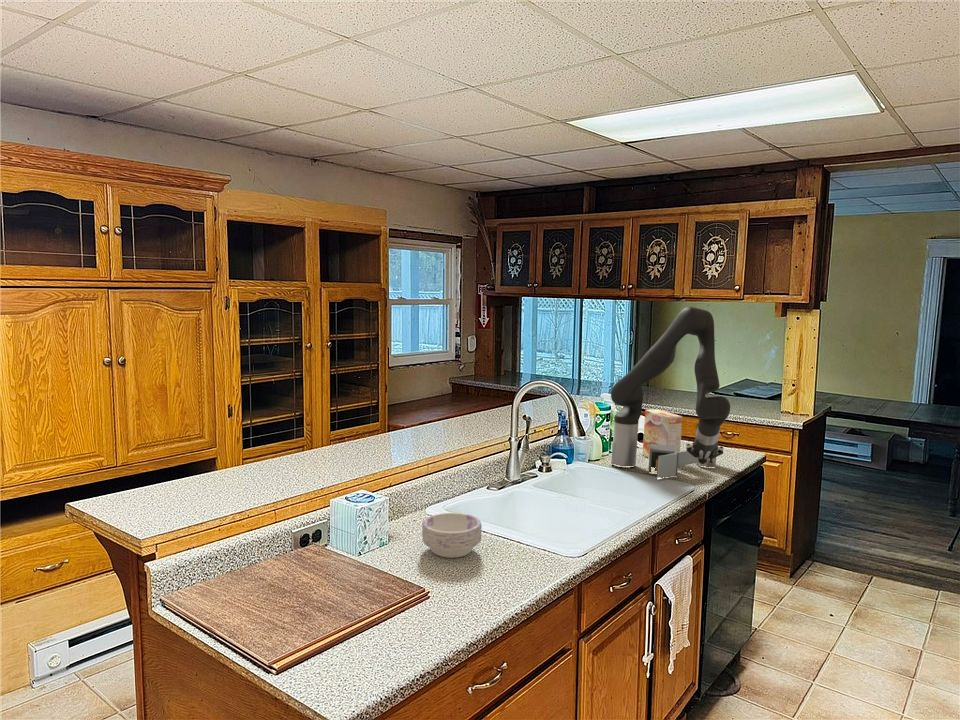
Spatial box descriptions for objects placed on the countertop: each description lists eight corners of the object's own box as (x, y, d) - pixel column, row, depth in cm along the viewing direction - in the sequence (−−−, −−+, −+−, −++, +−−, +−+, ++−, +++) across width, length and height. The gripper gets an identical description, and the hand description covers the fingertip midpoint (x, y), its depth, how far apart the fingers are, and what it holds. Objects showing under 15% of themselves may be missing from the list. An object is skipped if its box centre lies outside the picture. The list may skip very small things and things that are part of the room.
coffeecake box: (641, 455, 277) (644, 409, 275) (655, 454, 280) (658, 408, 278) (665, 465, 264) (669, 416, 261) (679, 463, 267) (683, 415, 264)
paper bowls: (414, 543, 177) (415, 514, 176) (469, 537, 182) (469, 509, 181) (431, 566, 163) (432, 535, 162) (489, 559, 168) (490, 529, 167)
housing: (648, 474, 250) (649, 449, 249) (648, 467, 259) (650, 443, 258) (673, 476, 248) (675, 451, 247) (672, 470, 257) (674, 446, 256)
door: (658, 480, 241) (660, 455, 240) (656, 480, 242) (658, 455, 241) (696, 473, 253) (698, 449, 252) (694, 472, 253) (696, 448, 252)
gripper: (727, 428, 229) (721, 454, 242) (687, 424, 232) (683, 451, 245) (728, 446, 225) (721, 472, 238) (687, 443, 228) (683, 469, 241)
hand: (702, 461), depth 242 cm, fingers closed
